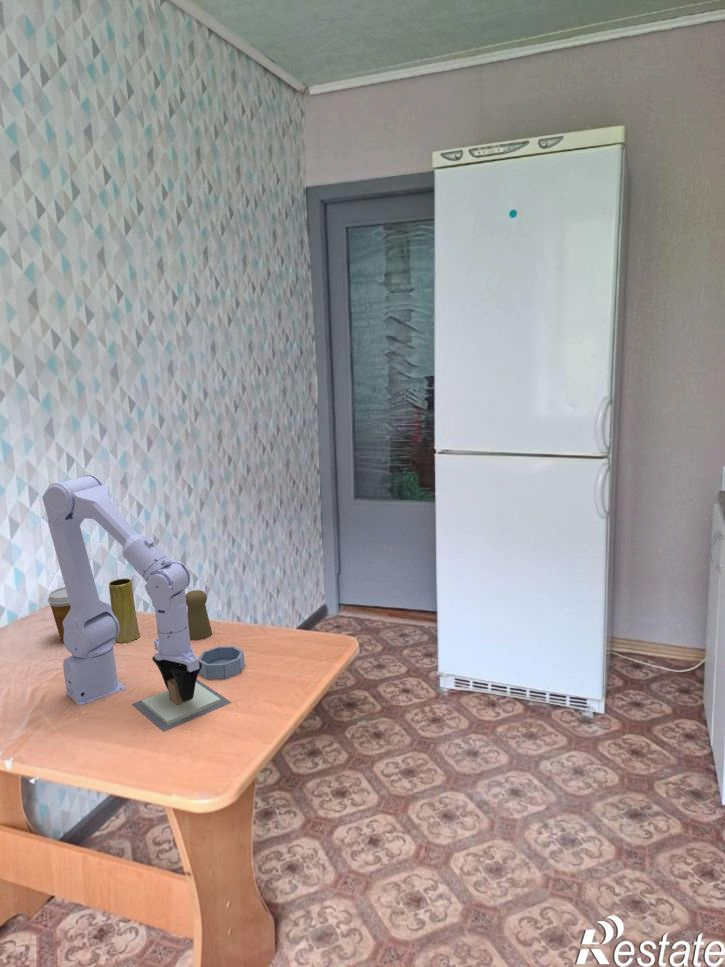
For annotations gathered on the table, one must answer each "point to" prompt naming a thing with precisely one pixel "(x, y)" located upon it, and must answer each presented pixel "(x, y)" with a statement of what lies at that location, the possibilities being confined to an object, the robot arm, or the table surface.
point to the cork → (197, 615)
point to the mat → (165, 727)
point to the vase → (124, 609)
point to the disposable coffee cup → (59, 608)
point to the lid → (179, 703)
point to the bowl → (221, 662)
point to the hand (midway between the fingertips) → (180, 693)
